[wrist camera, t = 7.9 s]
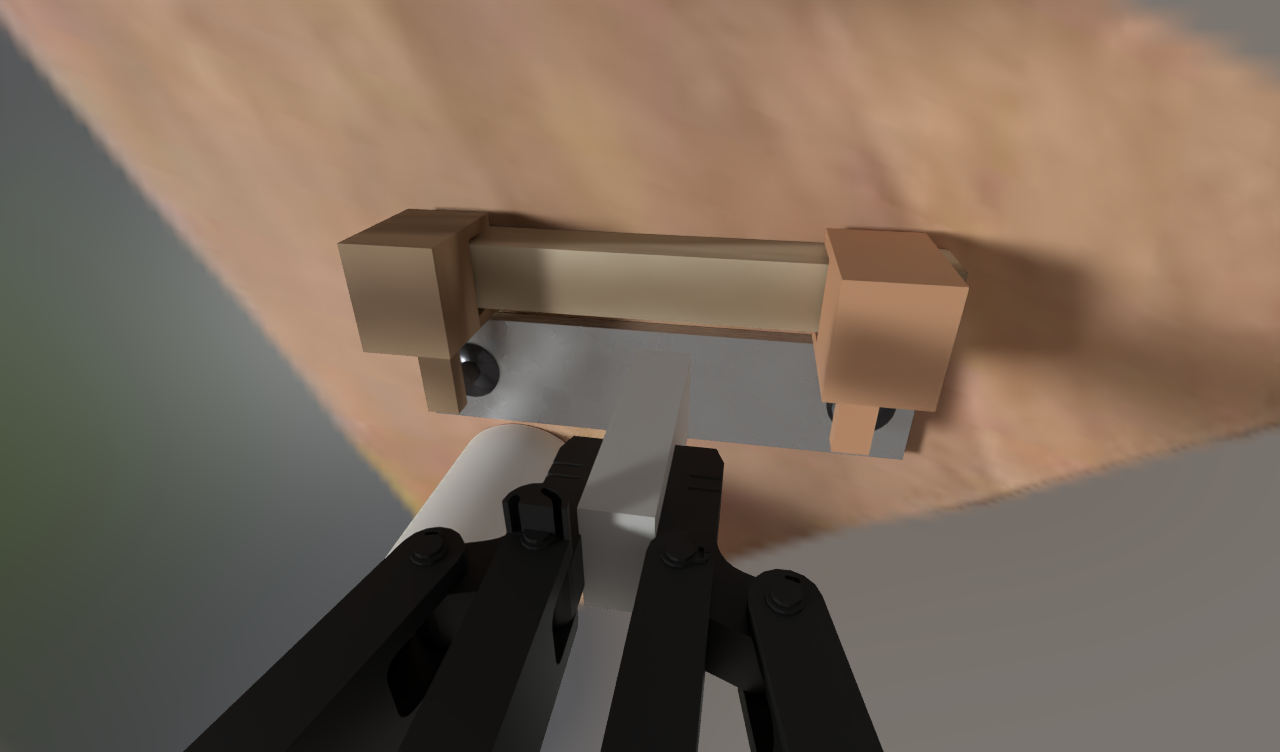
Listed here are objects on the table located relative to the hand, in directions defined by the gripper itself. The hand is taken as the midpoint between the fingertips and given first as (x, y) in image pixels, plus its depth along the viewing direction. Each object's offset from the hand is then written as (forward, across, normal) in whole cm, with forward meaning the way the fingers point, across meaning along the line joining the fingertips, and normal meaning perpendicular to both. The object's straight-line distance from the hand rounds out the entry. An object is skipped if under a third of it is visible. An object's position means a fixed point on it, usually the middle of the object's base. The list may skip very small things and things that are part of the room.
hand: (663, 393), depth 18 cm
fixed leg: (+12, -12, -3) cm, 17 cm away
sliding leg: (+12, +7, -3) cm, 14 cm away
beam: (+13, -2, -1) cm, 13 cm away
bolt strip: (+13, -2, -7) cm, 14 cm away
